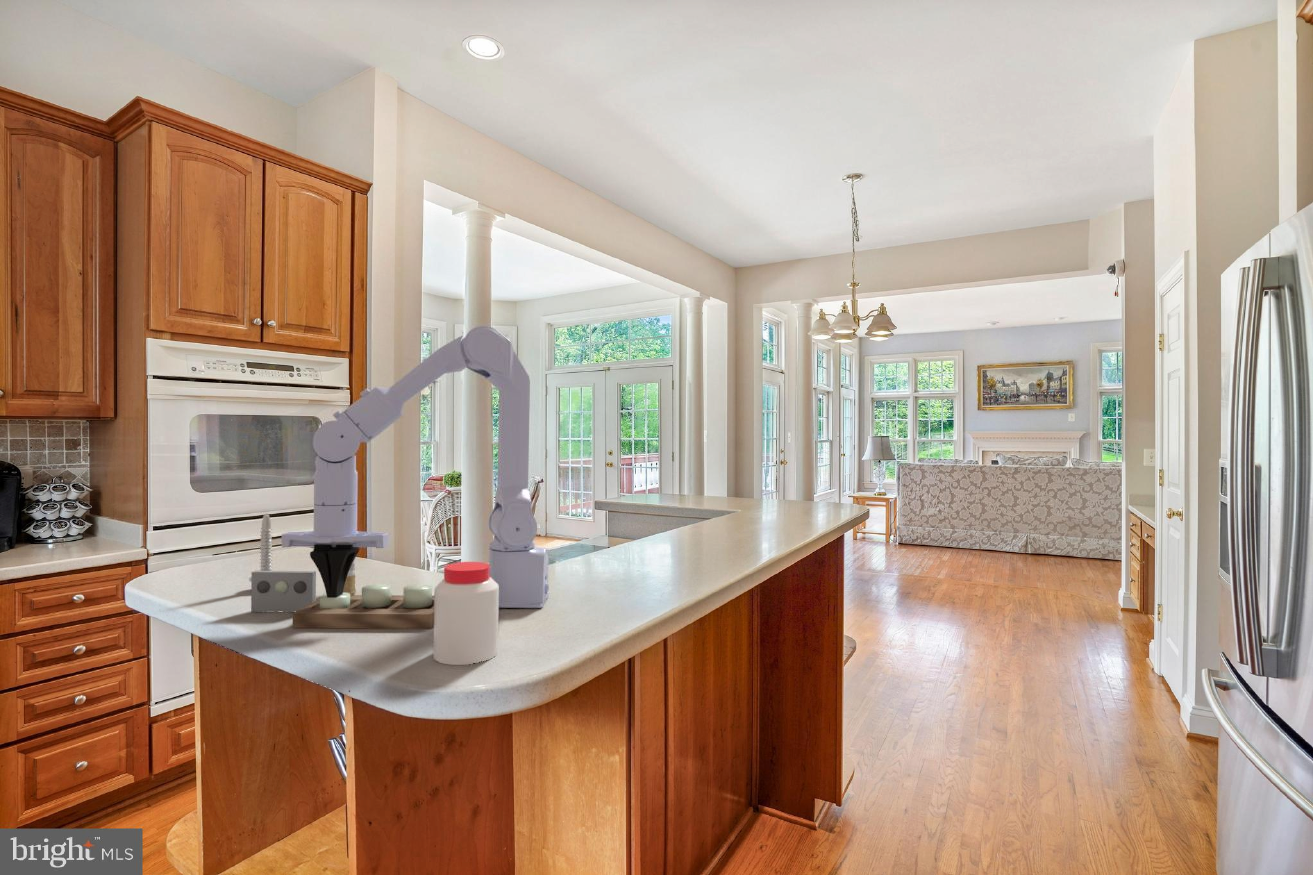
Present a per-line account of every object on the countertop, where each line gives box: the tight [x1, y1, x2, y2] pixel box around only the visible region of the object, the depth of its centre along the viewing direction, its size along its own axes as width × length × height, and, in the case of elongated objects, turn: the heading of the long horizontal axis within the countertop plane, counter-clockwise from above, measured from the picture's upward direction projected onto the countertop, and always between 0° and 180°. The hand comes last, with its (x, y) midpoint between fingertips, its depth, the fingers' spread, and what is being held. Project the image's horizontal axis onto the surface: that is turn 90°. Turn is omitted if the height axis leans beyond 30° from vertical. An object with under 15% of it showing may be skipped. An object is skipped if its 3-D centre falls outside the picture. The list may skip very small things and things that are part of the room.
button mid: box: [361, 583, 392, 608], centre depth 94 cm, size 4×4×2 cm
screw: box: [248, 513, 273, 583], centre depth 109 cm, size 13×5×5 cm
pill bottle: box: [432, 561, 500, 666], centre depth 80 cm, size 8×8×11 cm
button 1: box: [319, 592, 350, 609], centre depth 94 cm, size 4×4×2 cm
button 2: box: [403, 583, 433, 608], centre depth 95 cm, size 4×4×2 cm
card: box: [250, 570, 317, 613], centre depth 97 cm, size 9×1×6 cm, turn 92°
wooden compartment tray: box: [292, 594, 434, 630], centre depth 94 cm, size 19×10×2 cm, turn 92°
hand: (334, 596), depth 94 cm, fingers closed, pressing on button 1
